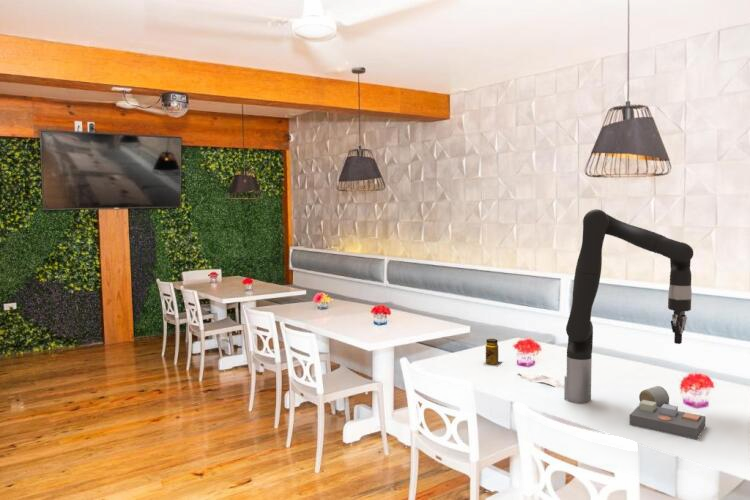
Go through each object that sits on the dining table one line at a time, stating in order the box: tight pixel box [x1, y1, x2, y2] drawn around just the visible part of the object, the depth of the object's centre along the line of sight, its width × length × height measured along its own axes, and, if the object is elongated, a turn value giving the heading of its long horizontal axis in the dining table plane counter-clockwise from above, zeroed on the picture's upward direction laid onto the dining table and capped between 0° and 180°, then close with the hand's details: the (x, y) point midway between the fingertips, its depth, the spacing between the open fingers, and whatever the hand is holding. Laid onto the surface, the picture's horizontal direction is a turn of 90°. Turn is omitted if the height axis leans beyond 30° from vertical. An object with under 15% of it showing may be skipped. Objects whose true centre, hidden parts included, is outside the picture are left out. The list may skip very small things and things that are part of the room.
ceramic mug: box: [638, 385, 671, 408], centre depth 220 cm, size 11×8×8 cm
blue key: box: [660, 404, 679, 417], centre depth 205 cm, size 4×4×3 cm
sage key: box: [638, 400, 656, 413], centre depth 209 cm, size 4×4×3 cm
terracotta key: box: [683, 412, 701, 422], centre depth 201 cm, size 4×4×3 cm
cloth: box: [516, 373, 565, 388], centre depth 256 cm, size 26×14×2 cm, turn 28°
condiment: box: [483, 338, 503, 367], centre depth 284 cm, size 7×8×12 cm
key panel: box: [629, 405, 706, 440], centre depth 203 cm, size 21×14×4 cm, turn 51°
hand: (677, 343), depth 216 cm, fingers closed
